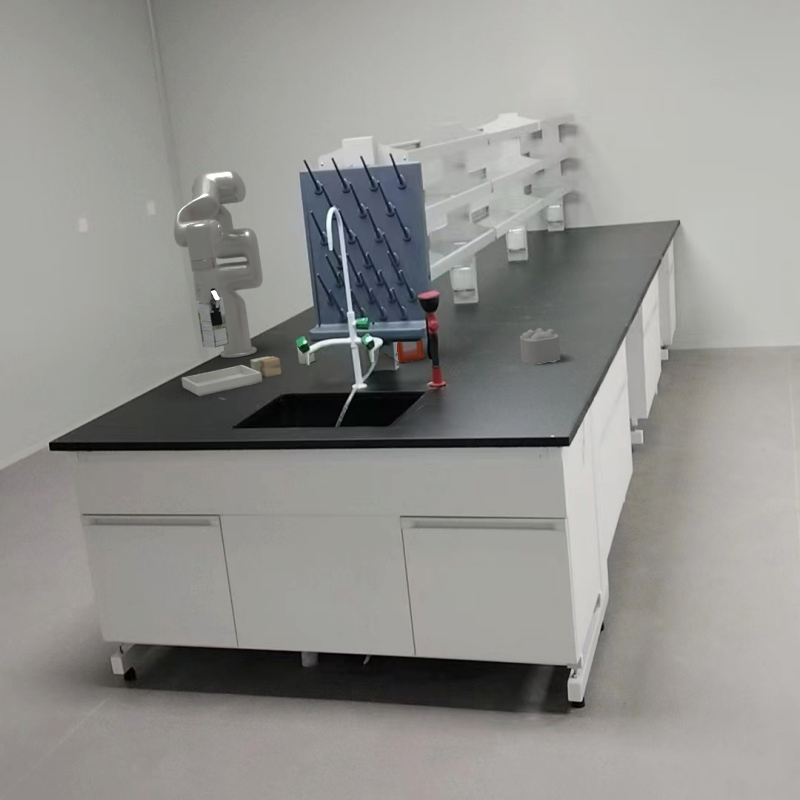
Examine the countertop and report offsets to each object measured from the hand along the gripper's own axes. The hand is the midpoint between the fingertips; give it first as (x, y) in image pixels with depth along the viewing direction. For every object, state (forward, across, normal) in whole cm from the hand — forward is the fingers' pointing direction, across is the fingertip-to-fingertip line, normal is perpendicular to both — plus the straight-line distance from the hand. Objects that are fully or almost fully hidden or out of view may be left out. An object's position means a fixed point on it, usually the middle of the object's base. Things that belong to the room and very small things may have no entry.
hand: (212, 323), depth 310 cm
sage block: (+19, -7, +16) cm, 26 cm away
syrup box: (+7, 0, 0) cm, 7 cm away
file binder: (+19, +15, +55) cm, 60 cm away
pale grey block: (+19, -6, +31) cm, 37 cm away
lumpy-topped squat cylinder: (+19, +54, +80) cm, 98 cm away
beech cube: (+19, 0, +16) cm, 25 cm away
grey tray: (+19, 0, 0) cm, 19 cm away
